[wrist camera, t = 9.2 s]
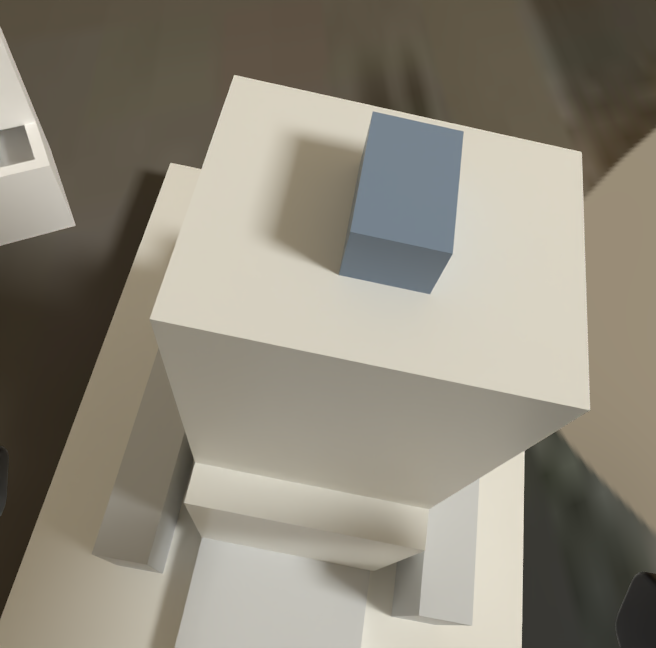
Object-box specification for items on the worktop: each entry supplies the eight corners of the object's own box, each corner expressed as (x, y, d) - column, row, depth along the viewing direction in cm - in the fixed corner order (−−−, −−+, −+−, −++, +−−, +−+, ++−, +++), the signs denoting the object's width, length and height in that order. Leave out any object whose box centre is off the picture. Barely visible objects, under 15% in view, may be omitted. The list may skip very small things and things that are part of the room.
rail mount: (498, 870, 15) (579, 950, 11) (-41, 777, 14) (-137, 828, 11) (514, 256, 23) (564, 188, 19) (174, 184, 22) (160, 101, 19)
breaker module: (373, 571, 16) (640, 464, 5) (201, 537, 15) (106, 356, 5) (396, 391, 18) (613, 59, 7) (246, 360, 18) (248, -24, 7)
